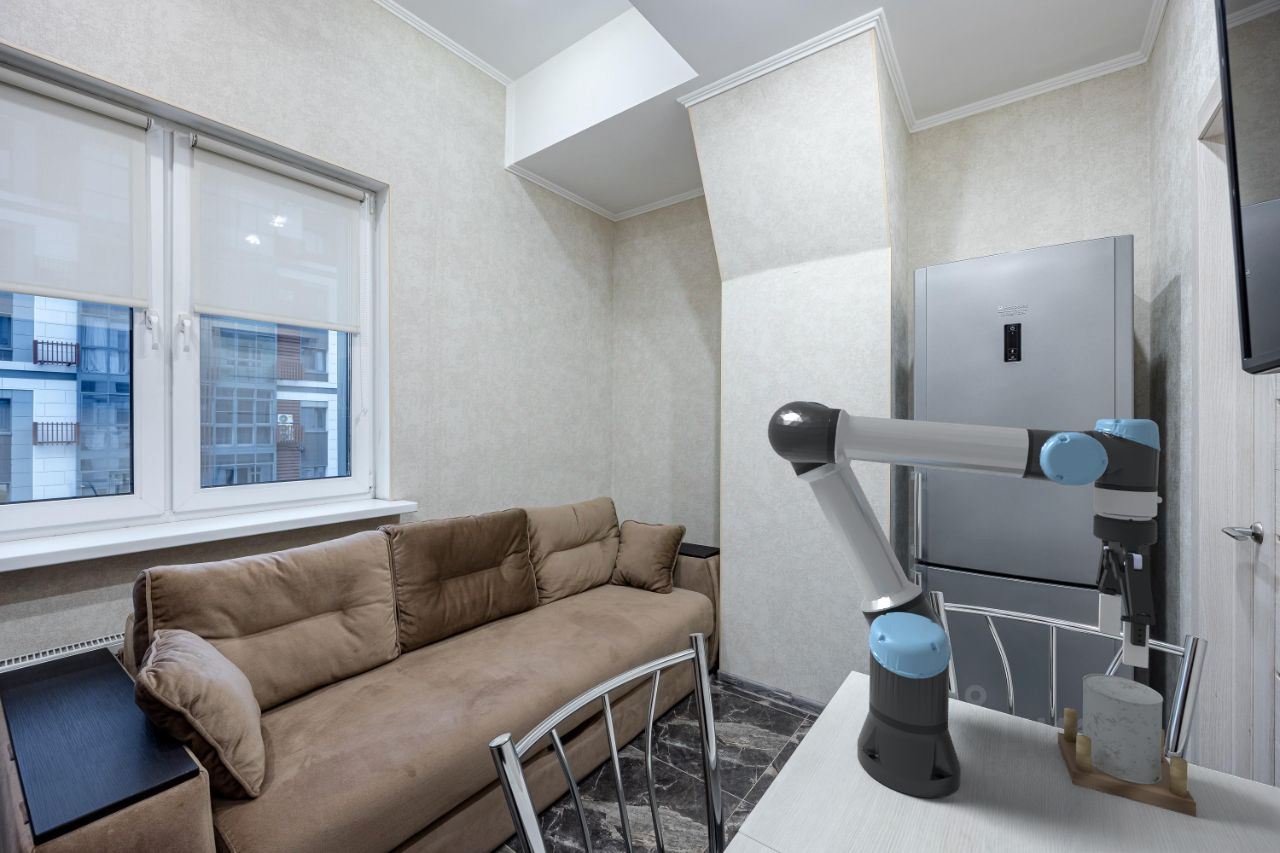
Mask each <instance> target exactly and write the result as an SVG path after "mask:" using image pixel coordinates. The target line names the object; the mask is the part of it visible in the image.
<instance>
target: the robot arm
mask: <svg viewBox="0 0 1280 853" xmlns="http://www.w3.org/2000/svg"><path fill="white" fill-rule="evenodd" d="M1159 430H1160V429H1159V424H1157V423H1156V422H1155V421H1153V420H1152V419H1146V418H1145V419H1143V418H1138V419H1135V418H1131V419H1129V418H1127V419H1125V418H1122V419H1120V418H1119V419H1116V418H1115V419H1114V418H1101V419H1098V420H1097V421H1096V422H1095V427H1094V428H1093V430H1083V431H1081V430H1062V429H1061V430H1059V429H1057V430H1056V429H1055V430H1053V429H1052V430H1051V429H1033V428H1032V429H1028V428H1022V427H1008V426H1007V427H1006V426H995V425H982V424H981V425H980V424H967V423H954V422H953V423H951V422H941V421H929V420H928V421H927V420H915V419H903V418H901V419H900V418H889V417H888V418H885V417H877V416H876V417H875V416H860V415H850V414H849V413H848V412H847V411H846V410H845V409H844V408H834V407H833V408H831V407H829V406H827V405H824V404H823V403H820V402H816V401H803V400H802V401H801V400H796V401H795V400H794V401H791V402H788V403H786V404H783V405H782V406H781V407H779V408H777V410H775V412H774V413H773V415H772V416H771V418H770V420H769V423H768V426H767V437H768V442H769V444H770V446H771V448H772V450H773V451H774V452H775V453H776V454H777V455H778V456H779V457H781V458H782V459H783V460H786V461H788V462H790V464H791V466H792V468H793V471H794V472H795V475H796V477H797V478H798V479H800V480H803V481H805V482H807V483H808V484H809V486H810V488H811V490H812V492H813V494H814V497H815V498H816V500H817V503H818V505H819V507H820V509H821V511H822V513H823V515H824V517H825V519H826V521H827V523H828V526H829V527H830V529H831V531H832V534H833V535H834V538H835V539H836V542H837V544H838V546H839V548H840V550H841V552H842V554H843V556H844V558H845V560H846V562H847V564H848V566H849V568H850V571H851V572H852V574H853V577H854V579H855V581H856V583H857V585H858V587H859V590H860V591H861V593H862V595H863V598H862V601H861V603H860V610H861V613H862V614H863V616H864V619H865V620H866V623H867V624H868V626H869V629H870V631H869V634H868V645H869V684H868V685H869V692H868V693H869V697H868V698H869V700H868V702H869V703H868V705H869V706H868V711H867V715H866V717H865V720H864V723H863V725H862V728H861V730H860V732H859V735H858V738H857V744H856V745H857V748H856V751H857V752H856V754H857V755H856V756H857V760H858V762H859V764H860V766H861V767H862V769H864V771H865V772H866V773H867V774H868V775H870V776H871V777H872V778H873V779H875V780H876V781H878V782H879V783H881V784H883V785H884V786H887V787H888V788H890V789H892V790H894V791H898V792H900V793H903V794H906V795H910V796H914V797H920V798H928V799H930V798H931V799H933V798H943V797H948V796H951V795H952V794H954V793H956V792H957V790H959V788H960V785H961V764H960V760H959V757H958V754H957V752H956V748H955V746H954V745H955V744H954V742H953V739H952V736H951V734H950V730H949V705H950V704H949V700H950V699H949V698H950V695H949V694H950V692H949V691H950V689H949V688H950V685H949V684H950V661H951V657H952V650H951V645H950V640H949V636H948V634H947V632H946V629H945V625H944V622H943V620H942V618H941V616H940V615H939V613H938V612H937V611H936V610H935V608H933V606H931V604H930V602H929V600H928V598H927V596H926V595H925V592H924V590H923V589H922V587H921V586H920V585H919V584H915V583H913V582H911V581H910V580H908V578H907V577H908V576H906V573H905V572H904V569H903V567H902V566H901V564H900V561H899V560H898V558H897V556H896V554H895V552H894V550H893V548H892V546H891V544H890V542H889V540H888V538H887V536H886V534H885V532H884V530H883V528H882V526H881V524H880V522H879V520H878V517H877V516H876V514H875V512H874V510H873V508H872V506H871V504H870V502H869V500H868V498H867V496H866V494H865V492H864V490H863V488H862V486H861V484H860V483H859V480H858V478H857V476H856V474H855V472H854V471H853V468H852V466H851V462H852V461H860V462H870V463H878V464H889V465H899V466H907V467H916V468H925V469H934V470H935V469H936V470H942V471H943V470H944V471H954V472H961V473H962V472H963V473H964V472H965V473H973V474H980V475H981V474H982V475H991V476H992V475H993V476H1001V477H1010V478H1020V479H1021V478H1022V479H1026V480H1034V481H1035V480H1036V481H1043V482H1044V481H1045V482H1052V483H1057V484H1058V485H1062V486H1071V487H1072V486H1075V487H1080V486H1085V485H1089V484H1091V483H1093V482H1094V484H1093V485H1094V486H1093V511H1095V512H1096V514H1095V515H1093V526H1092V527H1093V530H1092V531H1093V533H1092V534H1093V537H1095V538H1097V539H1100V540H1101V550H1100V551H1101V552H1100V557H1099V563H1098V570H1097V573H1096V574H1097V575H1096V580H1095V585H1096V586H1098V587H1097V588H1098V591H1099V596H1098V597H1099V601H1098V602H1099V604H1098V632H1099V633H1103V634H1108V635H1114V636H1115V635H1116V636H1121V628H1123V629H1122V659H1121V660H1122V661H1121V662H1122V664H1123V665H1127V666H1132V667H1139V668H1144V669H1149V651H1150V650H1149V646H1150V644H1149V643H1150V642H1149V641H1150V626H1151V625H1154V626H1155V625H1156V623H1157V619H1156V615H1155V607H1154V606H1155V605H1154V600H1153V592H1152V585H1151V576H1150V558H1149V555H1144V554H1141V549H1140V547H1141V546H1143V545H1145V546H1152V545H1154V544H1156V543H1157V541H1158V522H1157V521H1156V520H1155V519H1153V518H1155V517H1156V516H1158V504H1161V503H1162V502H1163V498H1162V497H1161V496H1158V491H1159V490H1158V488H1159V485H1158V484H1159V467H1160V464H1159V463H1160V452H1161V447H1160V445H1161V444H1160V433H1159ZM1122 602H1123V608H1124V611H1125V612H1124V613H1125V615H1122ZM1121 622H1123V626H1122V627H1121Z"/></svg>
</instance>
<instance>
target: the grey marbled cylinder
mask: <svg viewBox="0 0 1280 853" xmlns="http://www.w3.org/2000/svg"><path fill="white" fill-rule="evenodd" d="M1082 685H1083V686H1082V692H1083V693H1082V734H1081V735H1085V736H1087V737H1089V738H1090V739H1091V765H1092V766H1094V767H1095V768H1097V769H1099V770H1100V771H1102V772H1104V773H1106V774H1108V775H1111V776H1113V777H1116V778H1118V779H1121V780H1124V781H1128V782H1132V783H1137V784H1146V785H1151V784H1156V783H1159V782H1160V781H1161V780H1162V775H1161V740H1162V729H1163V703H1164V697H1163V696H1162V694H1161V693H1159V692H1158V691H1157V690H1155V689H1153V688H1152V687H1150V686H1148V685H1146V684H1142V683H1141V682H1138V681H1135V680H1132V679H1128V678H1125V677H1121V676H1116V675H1112V674H1104V673H1089V674H1086V675H1084V676H1083V677H1082Z"/></svg>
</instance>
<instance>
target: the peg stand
mask: <svg viewBox="0 0 1280 853" xmlns="http://www.w3.org/2000/svg"><path fill="white" fill-rule="evenodd" d="M1063 714H1064V715H1063V719H1064V720H1063V732H1060V731H1059V732H1057V746H1058V748H1059V751H1060V754H1061V756H1062V758H1063V761H1064V762H1063V763H1064V764H1065V767H1066V769H1067V771H1068V774H1069V777H1070V780H1071V783H1072V784H1073V785H1075V786H1078V787H1082V788H1085V789H1089V790H1094V791H1098V792H1100V793H1105V794H1108V795H1112V796H1117V797H1120V798H1124V799H1128V800H1131V801H1135V802H1138V803H1143V804H1146V805H1150V806H1154V807H1157V808H1161V809H1165V810H1168V811H1172V812H1176V813H1180V814H1183V815H1187V816H1191V817H1195V818H1197V802H1196V801H1195V799H1194V797H1193V795H1191V793H1190V791H1189V790H1188V761H1187V760H1186V759H1184V758H1182V757H1180V756H1176V755H1171V756H1169V761H1168V759H1167V758H1166V757H1165V733H1166V732H1165V729H1163V728H1162V740H1161V775H1162V780H1161V781H1160V782H1159V783H1156V784H1151V785H1146V784H1137V783H1132V782H1128V781H1124V780H1121V779H1118V778H1116V777H1113V776H1111V775H1108V774H1106V773H1104V772H1102V771H1100V770H1099V769H1097V768H1095V767H1094V766H1092V765H1091V739H1090V738H1089V737H1087V736H1085V735H1082V734H1079V733H1078V724H1079V723H1078V722H1079V719H1078V718H1079V717H1078V716H1079V712H1078V711H1077V709H1074V708H1070V707H1064V712H1063Z"/></svg>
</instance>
